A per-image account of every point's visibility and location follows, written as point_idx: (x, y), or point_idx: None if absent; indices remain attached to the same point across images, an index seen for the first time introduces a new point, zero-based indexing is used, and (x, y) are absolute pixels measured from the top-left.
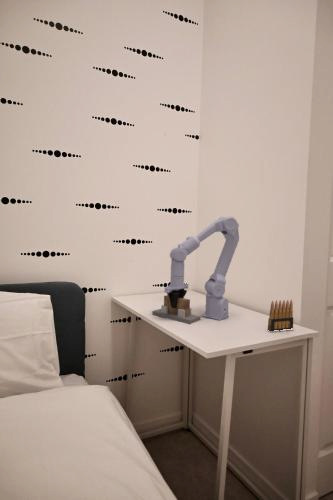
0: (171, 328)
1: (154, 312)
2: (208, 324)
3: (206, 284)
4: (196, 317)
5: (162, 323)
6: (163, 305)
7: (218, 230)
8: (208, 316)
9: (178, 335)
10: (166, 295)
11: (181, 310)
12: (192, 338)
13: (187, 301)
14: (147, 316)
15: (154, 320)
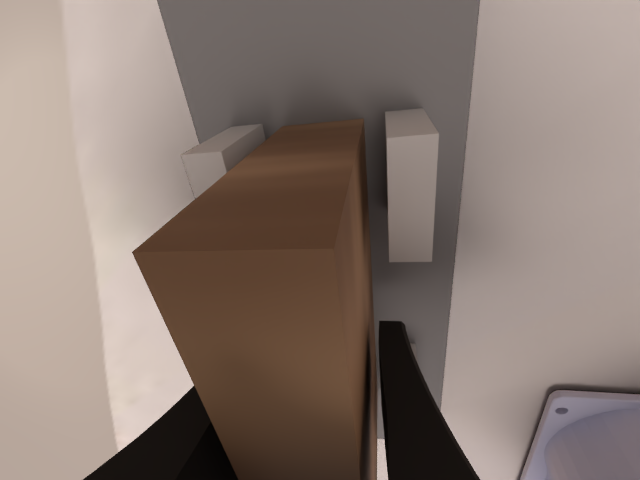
0: (135, 372)
1: (172, 24)
2: (378, 464)
3: None
4: (383, 434)
5: (128, 288)
6: (218, 177)
7: None
8: (539, 443)
9: (116, 429)
10: (254, 258)
11: None
12: None
13: None
14: (80, 17)
15: (100, 195)
